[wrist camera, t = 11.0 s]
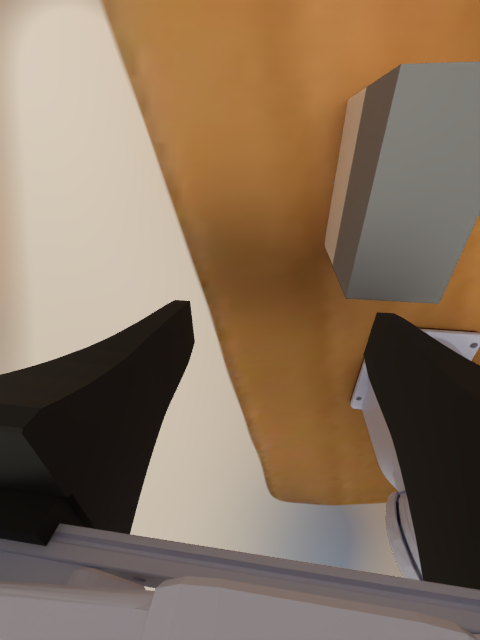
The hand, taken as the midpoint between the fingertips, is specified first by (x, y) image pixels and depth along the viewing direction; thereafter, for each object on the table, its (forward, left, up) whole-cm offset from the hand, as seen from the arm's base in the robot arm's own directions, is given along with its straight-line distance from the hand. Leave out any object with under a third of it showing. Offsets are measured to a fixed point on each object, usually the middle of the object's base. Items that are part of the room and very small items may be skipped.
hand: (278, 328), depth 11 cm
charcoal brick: (+4, -5, -7) cm, 9 cm away
